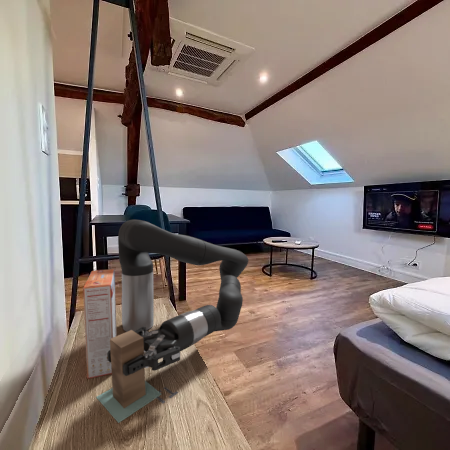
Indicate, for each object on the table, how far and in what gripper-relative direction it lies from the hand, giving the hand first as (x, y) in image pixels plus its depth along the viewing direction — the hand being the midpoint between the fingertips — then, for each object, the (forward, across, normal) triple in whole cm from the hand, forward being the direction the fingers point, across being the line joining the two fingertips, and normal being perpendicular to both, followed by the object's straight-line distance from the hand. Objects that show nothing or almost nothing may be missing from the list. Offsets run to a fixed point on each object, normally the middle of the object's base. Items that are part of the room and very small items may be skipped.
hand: (116, 363), depth 48 cm
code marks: (-8, -5, -8) cm, 12 cm away
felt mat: (-3, 0, -8) cm, 9 cm away
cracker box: (-5, +16, -8) cm, 19 cm away
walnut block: (-3, 0, -8) cm, 8 cm away
